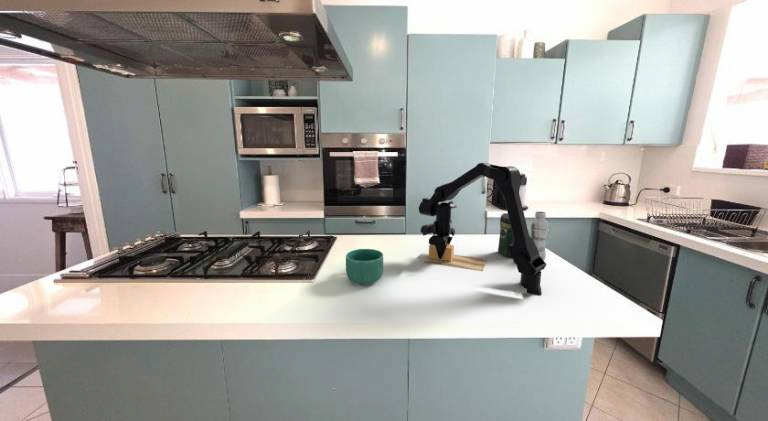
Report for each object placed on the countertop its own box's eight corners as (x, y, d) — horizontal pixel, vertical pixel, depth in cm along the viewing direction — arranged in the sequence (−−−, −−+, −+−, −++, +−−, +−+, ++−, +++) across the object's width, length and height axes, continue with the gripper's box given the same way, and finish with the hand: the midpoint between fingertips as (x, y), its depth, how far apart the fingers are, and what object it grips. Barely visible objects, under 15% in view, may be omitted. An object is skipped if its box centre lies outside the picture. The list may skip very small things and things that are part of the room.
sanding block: (451, 261, 117) (451, 248, 116) (428, 257, 121) (428, 245, 120) (453, 257, 122) (454, 245, 121) (431, 253, 125) (432, 242, 124)
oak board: (482, 275, 108) (482, 271, 108) (423, 266, 117) (423, 262, 117) (486, 262, 121) (486, 258, 121) (432, 255, 130) (432, 251, 129)
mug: (385, 288, 98) (385, 259, 96) (346, 290, 96) (345, 261, 95) (379, 269, 114) (379, 244, 112) (345, 270, 112) (345, 246, 111)
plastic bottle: (523, 259, 124) (527, 211, 121) (534, 257, 127) (539, 210, 123) (537, 264, 118) (541, 214, 115) (548, 262, 121) (554, 213, 118)
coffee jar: (524, 261, 122) (528, 216, 119) (506, 262, 121) (509, 216, 118) (511, 253, 132) (515, 211, 129) (494, 254, 131) (497, 212, 128)
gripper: (429, 212, 130) (428, 247, 132) (415, 221, 113) (414, 261, 116) (455, 214, 125) (454, 250, 128) (445, 224, 108) (444, 265, 111)
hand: (441, 256), depth 121 cm, fingers closed on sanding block, 5 cm apart
